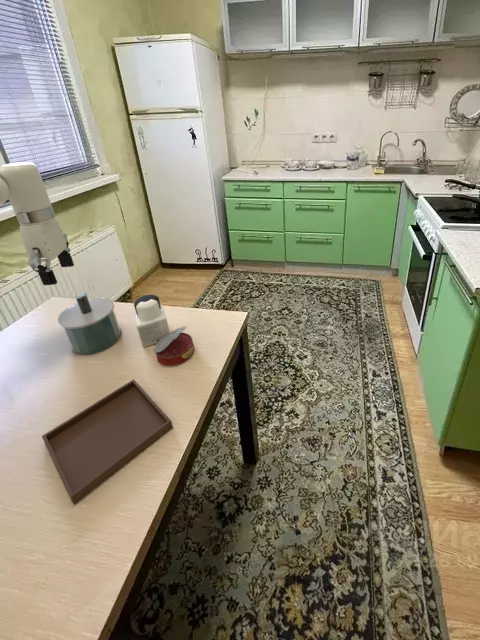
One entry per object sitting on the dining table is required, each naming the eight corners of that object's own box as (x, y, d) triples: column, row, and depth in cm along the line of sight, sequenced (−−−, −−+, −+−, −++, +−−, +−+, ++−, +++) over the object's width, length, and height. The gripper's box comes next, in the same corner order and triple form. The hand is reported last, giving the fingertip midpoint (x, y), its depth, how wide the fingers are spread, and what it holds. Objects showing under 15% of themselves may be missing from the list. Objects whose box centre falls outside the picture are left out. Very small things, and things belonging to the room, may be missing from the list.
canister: (81, 361, 87) (70, 334, 83) (66, 340, 95) (54, 314, 90) (128, 337, 95) (119, 311, 91) (110, 320, 103) (101, 295, 99)
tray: (74, 504, 56) (70, 498, 55) (45, 442, 67) (41, 436, 66) (173, 427, 69) (171, 420, 68) (135, 385, 79) (133, 379, 78)
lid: (69, 337, 82) (60, 317, 79) (52, 316, 90) (44, 297, 88) (122, 312, 91) (116, 293, 88) (103, 295, 100) (97, 277, 97)
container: (140, 332, 97) (129, 296, 91) (167, 324, 100) (158, 288, 94) (143, 348, 91) (131, 310, 85) (171, 339, 94) (162, 302, 88)
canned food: (172, 379, 86) (147, 364, 80) (163, 353, 94) (140, 337, 87) (206, 351, 88) (185, 334, 81) (195, 328, 95) (174, 310, 88)
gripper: (38, 205, 87) (60, 261, 95) (-4, 229, 72) (26, 293, 79) (68, 203, 88) (87, 259, 96) (33, 226, 73) (59, 290, 80)
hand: (59, 274), depth 87 cm, fingers open, 9 cm apart
